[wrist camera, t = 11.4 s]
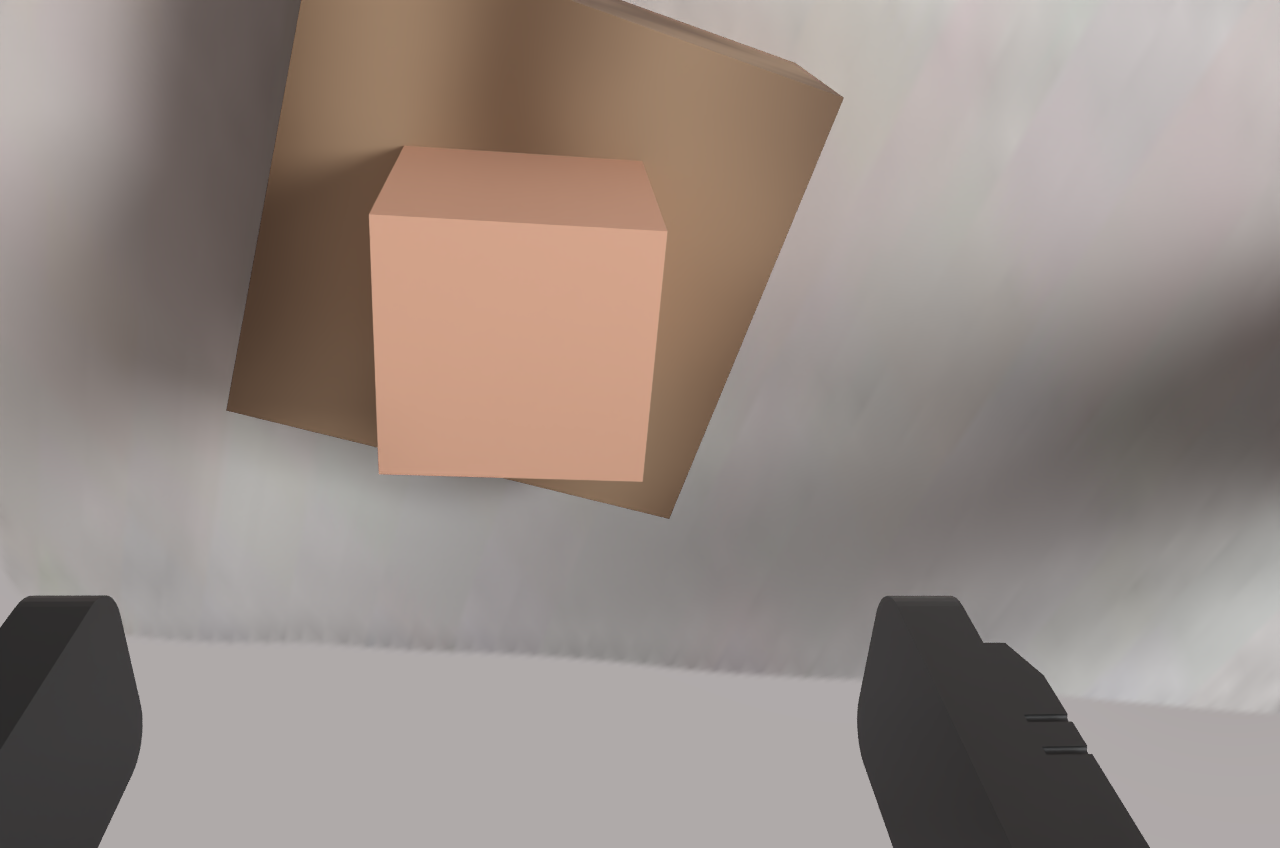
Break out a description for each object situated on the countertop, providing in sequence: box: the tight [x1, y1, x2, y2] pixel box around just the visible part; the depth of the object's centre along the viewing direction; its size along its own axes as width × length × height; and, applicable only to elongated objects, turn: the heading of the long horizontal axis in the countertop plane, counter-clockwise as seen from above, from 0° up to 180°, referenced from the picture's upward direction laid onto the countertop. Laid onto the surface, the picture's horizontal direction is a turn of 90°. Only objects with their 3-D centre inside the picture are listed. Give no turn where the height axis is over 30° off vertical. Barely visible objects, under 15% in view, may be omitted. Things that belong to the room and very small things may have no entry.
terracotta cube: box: [369, 146, 668, 482], centre depth 21 cm, size 5×5×5 cm
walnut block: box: [227, 0, 843, 519], centre depth 25 cm, size 11×11×5 cm
